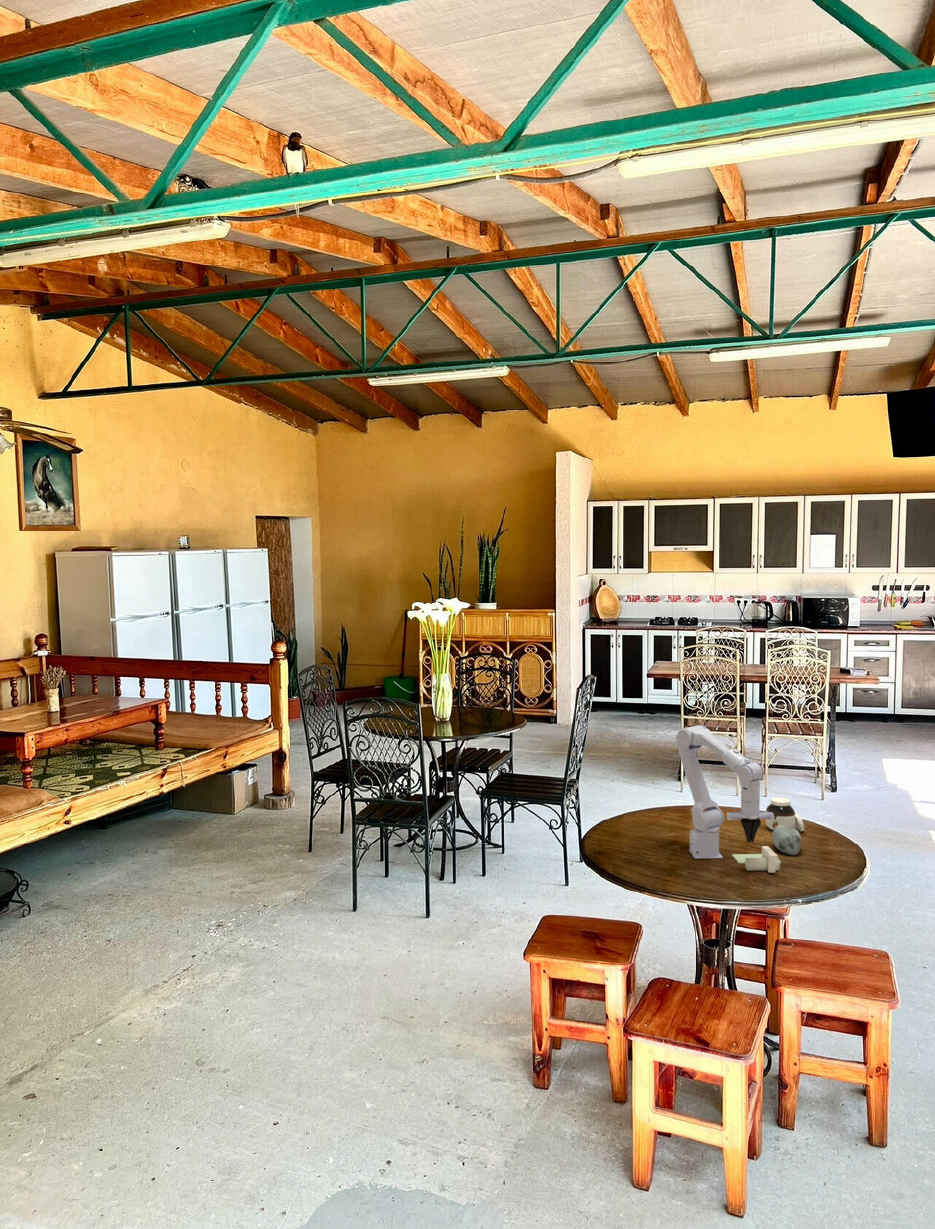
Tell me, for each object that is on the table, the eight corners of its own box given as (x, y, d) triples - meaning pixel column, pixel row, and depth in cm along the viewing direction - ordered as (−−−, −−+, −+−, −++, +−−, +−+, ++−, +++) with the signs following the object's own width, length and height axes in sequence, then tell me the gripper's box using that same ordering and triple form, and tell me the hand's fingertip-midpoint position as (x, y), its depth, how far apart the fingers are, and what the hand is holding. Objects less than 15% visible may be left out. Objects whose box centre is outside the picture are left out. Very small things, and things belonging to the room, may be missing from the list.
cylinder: (748, 872, 281) (748, 860, 280) (744, 867, 285) (745, 856, 284) (779, 872, 280) (779, 860, 280) (775, 867, 284) (775, 855, 284)
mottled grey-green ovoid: (809, 849, 291) (794, 821, 294) (783, 861, 293) (768, 833, 295) (804, 845, 304) (790, 819, 307) (779, 857, 306) (765, 830, 308)
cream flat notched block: (770, 874, 277) (770, 855, 277) (761, 864, 286) (761, 846, 286) (777, 874, 277) (777, 855, 277) (768, 864, 286) (768, 846, 286)
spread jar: (762, 828, 324) (762, 798, 323) (783, 824, 329) (784, 793, 328) (787, 837, 313) (788, 806, 312) (809, 832, 318) (810, 801, 317)
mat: (738, 863, 288) (738, 862, 288) (731, 855, 296) (731, 854, 296) (781, 863, 288) (781, 862, 288) (773, 854, 296) (773, 853, 296)
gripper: (731, 803, 277) (731, 845, 278) (777, 803, 277) (776, 845, 278) (725, 797, 284) (724, 838, 285) (769, 797, 284) (769, 837, 285)
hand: (750, 841), depth 282 cm, fingers closed
